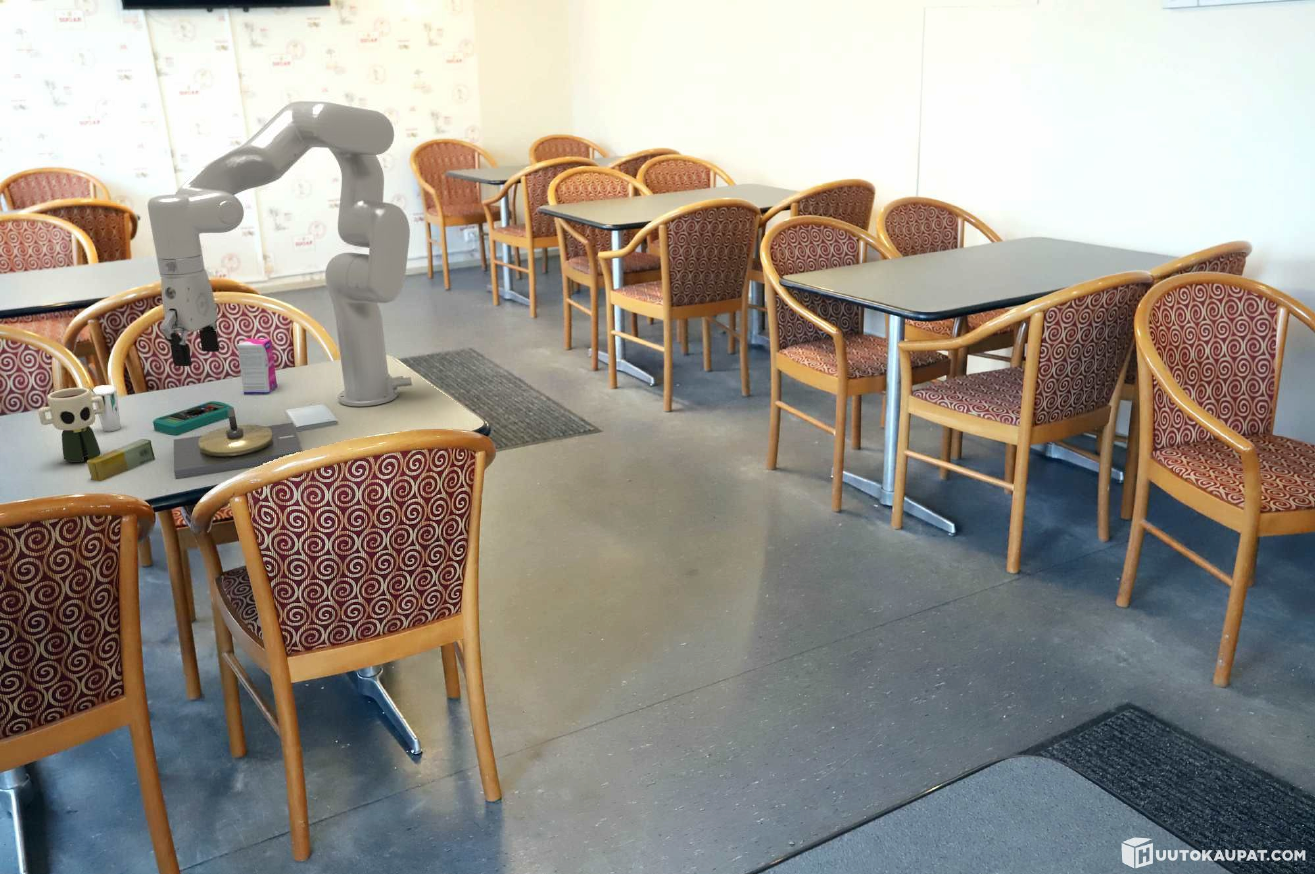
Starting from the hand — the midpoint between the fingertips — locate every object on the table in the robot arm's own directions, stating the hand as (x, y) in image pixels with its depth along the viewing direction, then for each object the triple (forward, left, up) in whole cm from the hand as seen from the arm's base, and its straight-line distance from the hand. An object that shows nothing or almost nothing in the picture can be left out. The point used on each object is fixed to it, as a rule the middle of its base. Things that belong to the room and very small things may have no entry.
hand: (197, 358), depth 195 cm
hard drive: (-19, -11, -19) cm, 29 cm away
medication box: (+16, +2, -19) cm, 25 cm away
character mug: (+23, -7, -19) cm, 30 cm away
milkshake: (+19, -23, -19) cm, 35 cm away
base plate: (-4, +3, -18) cm, 19 cm away
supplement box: (-11, -37, -19) cm, 43 cm away
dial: (-4, +3, -17) cm, 17 cm away
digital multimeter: (+3, -20, -19) cm, 28 cm away
